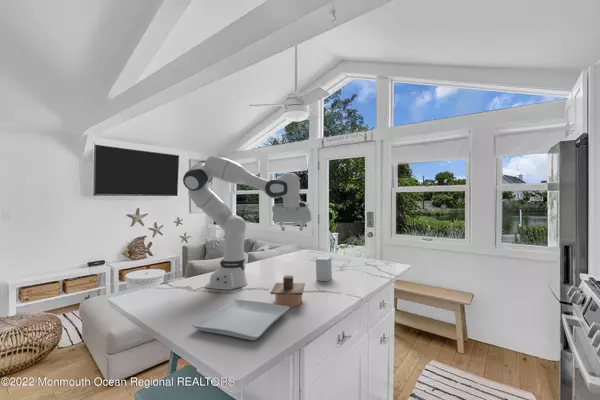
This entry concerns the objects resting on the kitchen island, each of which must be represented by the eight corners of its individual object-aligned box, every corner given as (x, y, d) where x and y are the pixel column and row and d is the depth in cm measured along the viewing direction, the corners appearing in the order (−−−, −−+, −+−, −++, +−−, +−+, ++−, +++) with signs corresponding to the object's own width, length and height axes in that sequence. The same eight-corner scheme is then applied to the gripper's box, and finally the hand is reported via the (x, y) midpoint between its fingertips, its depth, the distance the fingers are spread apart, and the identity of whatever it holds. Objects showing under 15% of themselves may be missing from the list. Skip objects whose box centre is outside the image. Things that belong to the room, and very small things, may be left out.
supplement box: (332, 278, 168) (331, 257, 168) (327, 281, 161) (327, 259, 161) (320, 277, 171) (320, 256, 171) (315, 280, 165) (315, 258, 164)
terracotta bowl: (273, 306, 126) (273, 293, 126) (278, 297, 138) (278, 285, 137) (300, 307, 124) (300, 293, 124) (302, 297, 136) (302, 285, 136)
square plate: (235, 306, 128) (234, 298, 128) (290, 315, 118) (290, 305, 118) (191, 334, 102) (191, 323, 102) (257, 347, 92) (257, 335, 92)
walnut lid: (270, 294, 125) (270, 281, 124) (276, 284, 138) (275, 272, 138) (302, 294, 123) (302, 281, 123) (304, 284, 137) (304, 272, 137)
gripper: (270, 204, 145) (271, 231, 145) (310, 203, 143) (311, 231, 144) (273, 204, 152) (273, 230, 152) (311, 203, 150) (311, 229, 150)
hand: (292, 230), depth 148 cm, fingers open, 8 cm apart
